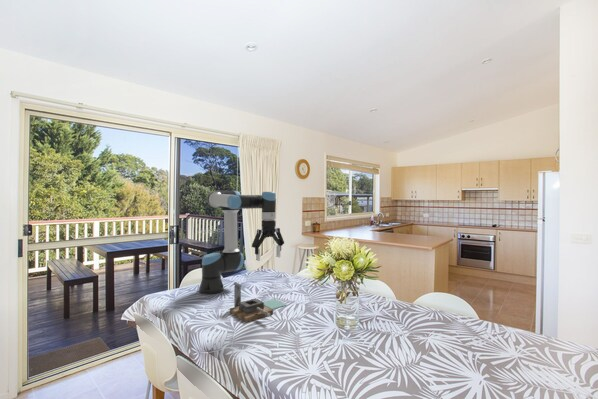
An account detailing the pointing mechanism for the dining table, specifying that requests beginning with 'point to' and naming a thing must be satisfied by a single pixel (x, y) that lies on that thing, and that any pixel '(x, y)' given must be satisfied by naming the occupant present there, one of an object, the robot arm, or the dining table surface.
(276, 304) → the mat
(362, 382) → the dining table surface
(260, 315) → the block
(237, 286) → the key
